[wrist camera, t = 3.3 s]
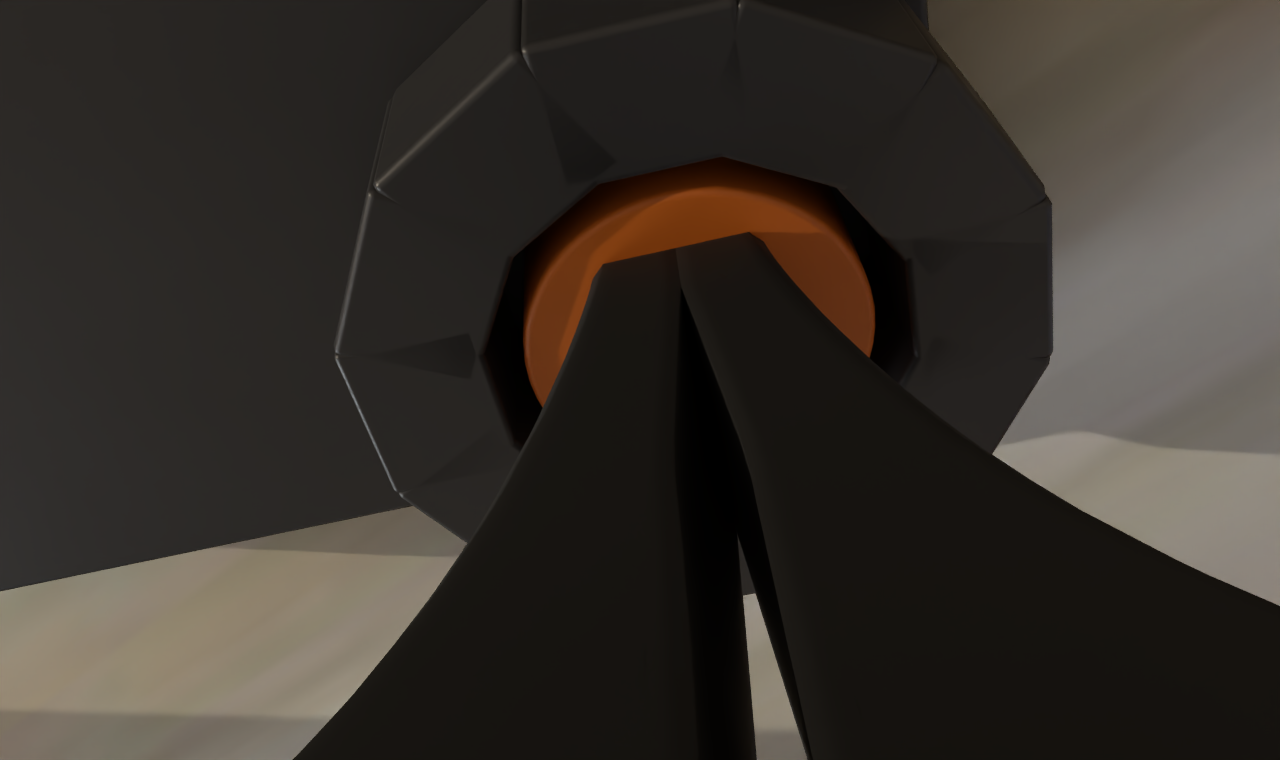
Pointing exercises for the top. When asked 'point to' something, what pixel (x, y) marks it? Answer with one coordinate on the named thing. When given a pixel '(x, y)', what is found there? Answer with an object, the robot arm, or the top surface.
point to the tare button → (684, 215)
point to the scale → (428, 238)
